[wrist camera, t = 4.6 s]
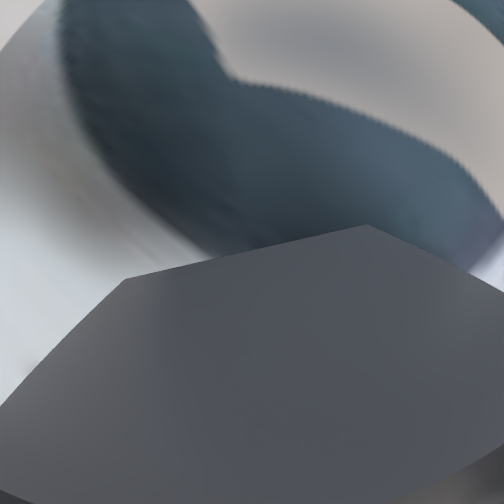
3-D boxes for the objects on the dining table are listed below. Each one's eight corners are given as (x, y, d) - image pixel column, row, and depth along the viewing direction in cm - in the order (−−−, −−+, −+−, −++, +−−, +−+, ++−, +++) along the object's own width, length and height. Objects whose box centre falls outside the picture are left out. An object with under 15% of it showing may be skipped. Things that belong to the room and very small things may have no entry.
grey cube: (367, 224, 9) (601, 355, 1) (378, 408, 11) (451, 563, 3) (124, 279, 9) (-47, 465, 2) (197, 444, 11) (174, 609, 3)
